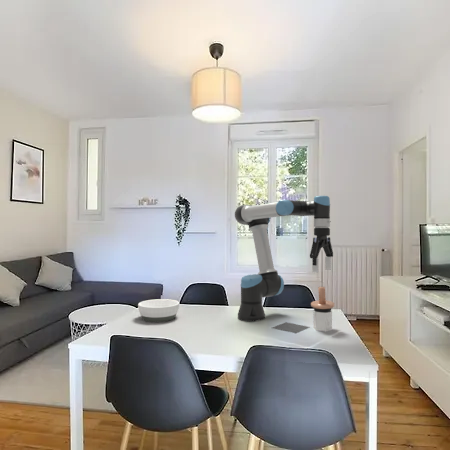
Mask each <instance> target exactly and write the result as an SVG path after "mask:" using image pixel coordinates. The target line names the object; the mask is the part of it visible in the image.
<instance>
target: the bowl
mask: <svg viewBox="0 0 450 450" xmlns="http://www.w3.org/2000/svg"><path fill="white" fill-rule="evenodd" d="M137 307H138V308H137V309H138V311H139V315H140V316H141V317H142V320H143V321H145V322H150V323H162V322H169V321H172V320H174V319H175V317H176V315H177V314H178V312H179V308H180V302H179V301H178V300H176V299H170V298H169V299H167V298H158V299H148V300H142V301H140V302H138V304H137Z"/></svg>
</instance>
